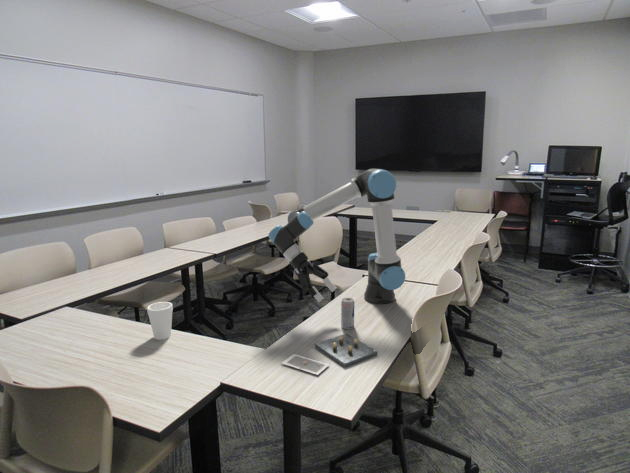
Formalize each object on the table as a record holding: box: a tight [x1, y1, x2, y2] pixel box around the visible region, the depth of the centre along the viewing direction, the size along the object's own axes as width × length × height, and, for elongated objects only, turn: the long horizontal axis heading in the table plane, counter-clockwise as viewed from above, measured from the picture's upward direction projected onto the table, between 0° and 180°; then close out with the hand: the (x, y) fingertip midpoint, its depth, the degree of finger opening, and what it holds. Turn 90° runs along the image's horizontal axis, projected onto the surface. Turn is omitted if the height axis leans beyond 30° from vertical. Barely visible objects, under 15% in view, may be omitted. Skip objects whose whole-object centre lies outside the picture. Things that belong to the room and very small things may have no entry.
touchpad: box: [281, 353, 330, 376], centre depth 144 cm, size 8×15×2 cm, turn 58°
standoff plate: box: [314, 333, 378, 368], centre depth 154 cm, size 15×18×4 cm
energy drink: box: [340, 297, 355, 330], centre depth 173 cm, size 5×5×12 cm
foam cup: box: [146, 301, 174, 341], centre depth 167 cm, size 10×9×13 cm
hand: (328, 295), depth 175 cm, fingers open, 13 cm apart
